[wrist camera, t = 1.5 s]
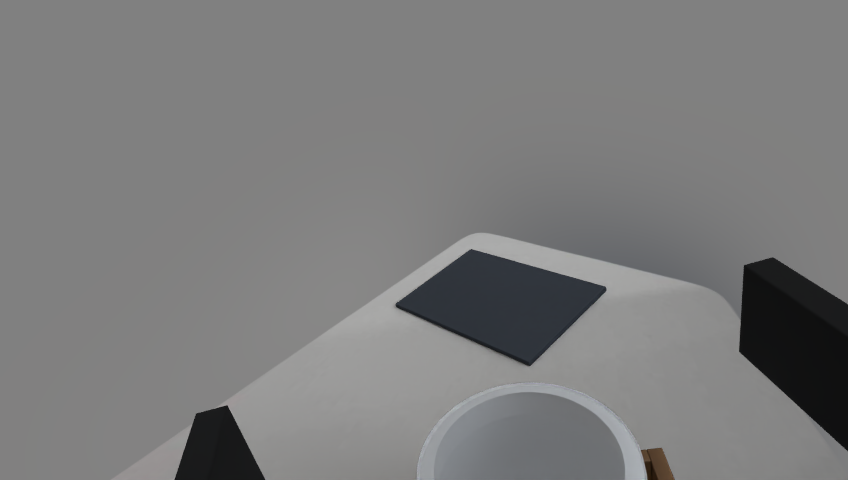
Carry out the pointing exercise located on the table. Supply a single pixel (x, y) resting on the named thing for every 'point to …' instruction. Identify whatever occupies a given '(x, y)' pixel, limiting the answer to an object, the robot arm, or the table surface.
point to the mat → (502, 303)
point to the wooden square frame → (656, 465)
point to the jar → (531, 438)
